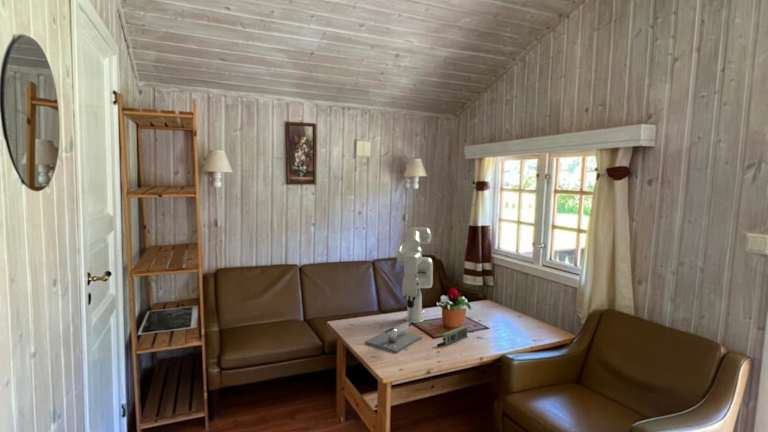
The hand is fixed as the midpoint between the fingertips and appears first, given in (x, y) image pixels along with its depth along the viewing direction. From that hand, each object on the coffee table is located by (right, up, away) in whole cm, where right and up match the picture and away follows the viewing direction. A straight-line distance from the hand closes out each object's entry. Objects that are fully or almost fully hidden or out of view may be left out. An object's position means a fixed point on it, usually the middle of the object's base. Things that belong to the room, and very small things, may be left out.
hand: (410, 307), depth 246 cm
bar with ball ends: (-7, -19, +4) cm, 20 cm away
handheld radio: (+25, -21, +4) cm, 33 cm away
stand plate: (-10, -21, +4) cm, 23 cm away
